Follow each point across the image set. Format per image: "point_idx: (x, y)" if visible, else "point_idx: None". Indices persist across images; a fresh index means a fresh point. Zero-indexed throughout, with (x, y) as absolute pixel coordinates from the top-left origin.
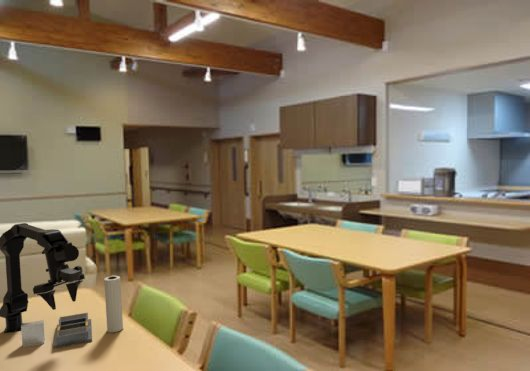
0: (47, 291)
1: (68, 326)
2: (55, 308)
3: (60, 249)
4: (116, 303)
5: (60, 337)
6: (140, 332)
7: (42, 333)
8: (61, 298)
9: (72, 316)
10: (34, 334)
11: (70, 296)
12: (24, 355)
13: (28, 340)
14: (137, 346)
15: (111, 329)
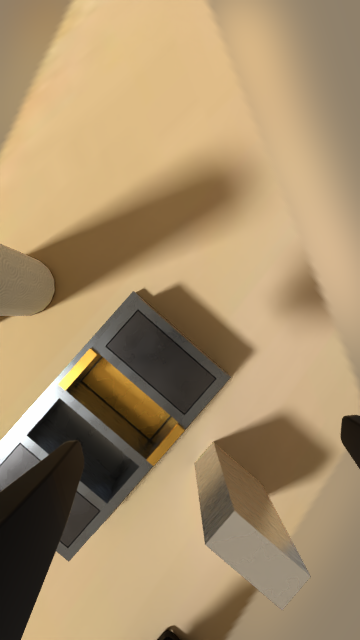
0: None
1: (122, 434)
2: (354, 417)
3: None
4: None
5: (217, 366)
6: (8, 175)
7: (224, 470)
8: None
9: None
10: (246, 491)
11: (52, 556)
12: (298, 422)
13: (256, 489)
14: (104, 105)
15: (46, 274)
